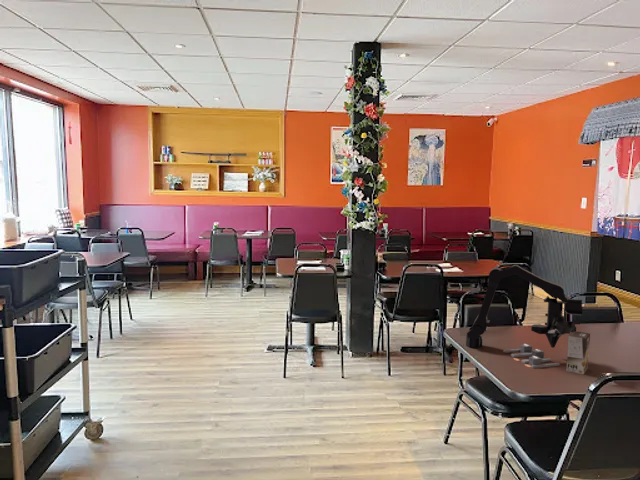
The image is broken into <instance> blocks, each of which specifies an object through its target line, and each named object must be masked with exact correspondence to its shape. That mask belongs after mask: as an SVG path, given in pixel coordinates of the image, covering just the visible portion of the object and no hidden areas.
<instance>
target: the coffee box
mask: <svg viewBox="0 0 640 480" xmlns="http://www.w3.org/2000/svg"><path fill="white" fill-rule="evenodd" d="M590 340H591V333H587V332H584V331H583V332H582V331H577V330H576V331H573V332H570V334H568V340H567V341H568V342H567V343H568V344H567V357H566V369H565V370H566V372H569V373H575V374H579V375H584V374H585V373H586V372H587V371H588V369H589V354H590V343H591V342H590Z"/></svg>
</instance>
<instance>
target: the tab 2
mask: <svg viewBox="0 0 640 480" xmlns="http://www.w3.org/2000/svg"><path fill="white" fill-rule="evenodd" d="M533 356H538V357H540V358H545V350H542V349H537V348H535V349H532V356H530V357H533Z"/></svg>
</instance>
